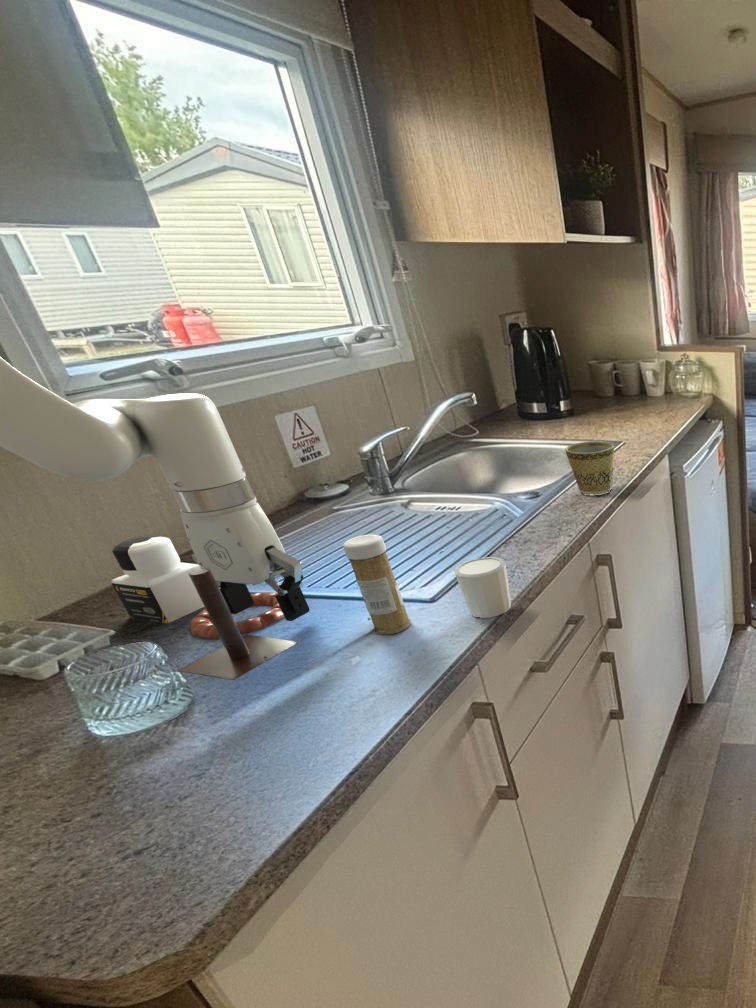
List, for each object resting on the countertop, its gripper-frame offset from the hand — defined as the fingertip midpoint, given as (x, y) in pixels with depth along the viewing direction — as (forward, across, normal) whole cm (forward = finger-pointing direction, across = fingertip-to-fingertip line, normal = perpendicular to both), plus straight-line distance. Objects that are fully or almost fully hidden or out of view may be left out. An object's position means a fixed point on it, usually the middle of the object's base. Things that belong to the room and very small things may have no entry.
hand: (270, 612), depth 91 cm
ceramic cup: (+4, +14, +66) cm, 67 cm away
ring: (+1, -6, 0) cm, 6 cm away
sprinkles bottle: (+3, +16, +4) cm, 17 cm away
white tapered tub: (+3, +26, +12) cm, 29 cm away
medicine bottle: (+3, -18, 0) cm, 18 cm away
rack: (+2, +4, -8) cm, 10 cm away
